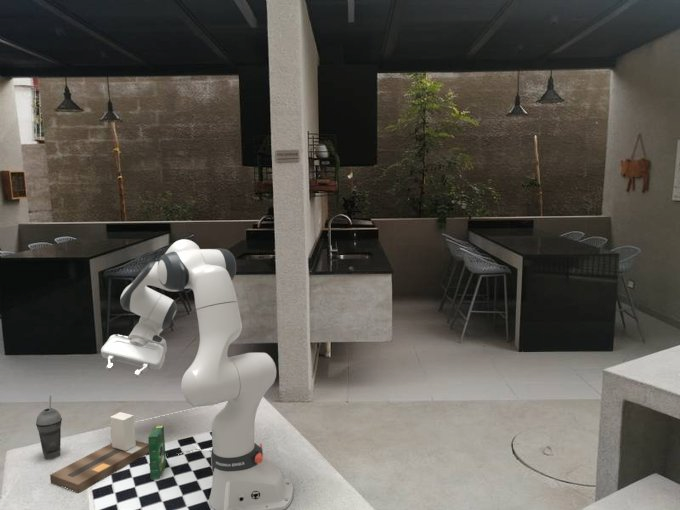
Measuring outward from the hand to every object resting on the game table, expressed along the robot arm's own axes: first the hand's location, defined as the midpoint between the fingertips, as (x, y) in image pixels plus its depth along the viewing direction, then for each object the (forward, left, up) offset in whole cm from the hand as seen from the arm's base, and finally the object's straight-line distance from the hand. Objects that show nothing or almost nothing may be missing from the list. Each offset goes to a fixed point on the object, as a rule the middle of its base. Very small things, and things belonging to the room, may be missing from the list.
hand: (122, 372), depth 171 cm
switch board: (+4, +11, -25) cm, 28 cm away
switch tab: (0, +4, -23) cm, 23 cm away
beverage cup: (+23, +3, -26) cm, 34 cm away
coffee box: (-14, +16, -26) cm, 34 cm away
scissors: (-24, +3, -26) cm, 36 cm away
